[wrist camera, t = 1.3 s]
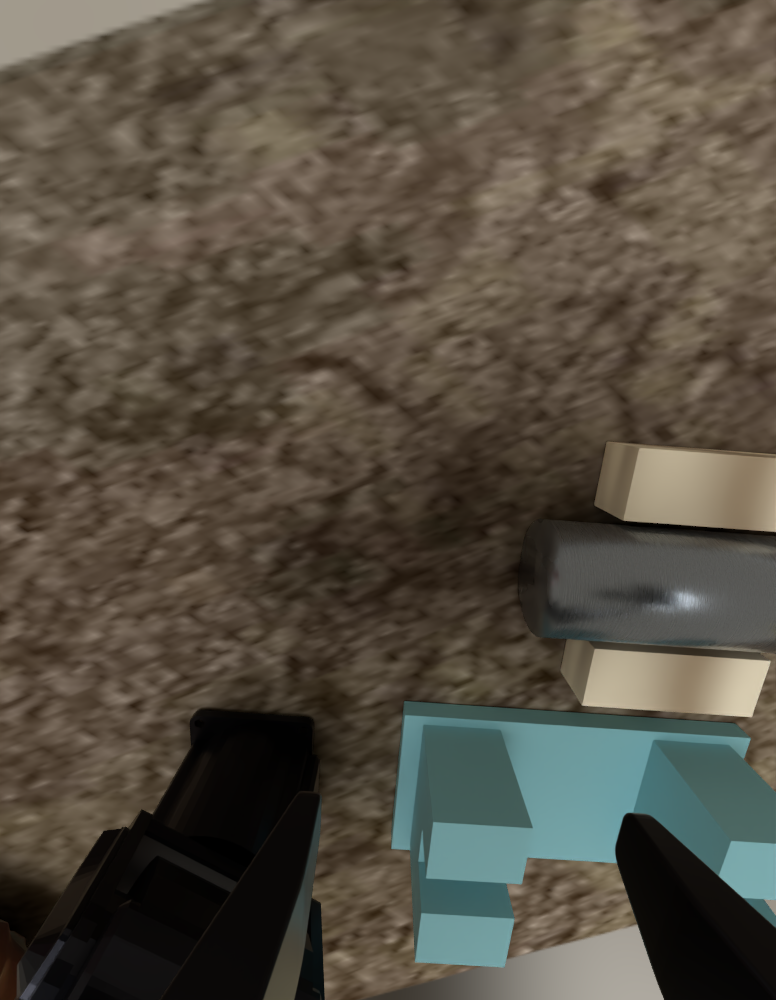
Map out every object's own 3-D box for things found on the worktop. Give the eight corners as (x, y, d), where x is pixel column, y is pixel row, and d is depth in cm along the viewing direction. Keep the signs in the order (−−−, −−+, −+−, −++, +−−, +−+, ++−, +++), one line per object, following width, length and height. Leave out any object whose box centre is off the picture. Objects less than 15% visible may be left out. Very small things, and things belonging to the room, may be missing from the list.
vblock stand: (391, 830, 24) (391, 968, 18) (404, 701, 22) (409, 810, 16) (692, 849, 24) (788, 991, 18) (735, 723, 22) (858, 839, 16)
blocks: (560, 670, 21) (582, 705, 19) (606, 441, 19) (639, 447, 16) (710, 681, 22) (751, 717, 19) (780, 454, 19) (838, 462, 16)
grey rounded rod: (513, 606, 21) (552, 661, 16) (526, 508, 20) (572, 535, 15) (786, 625, 21) (911, 686, 16) (811, 529, 20) (950, 562, 15)
